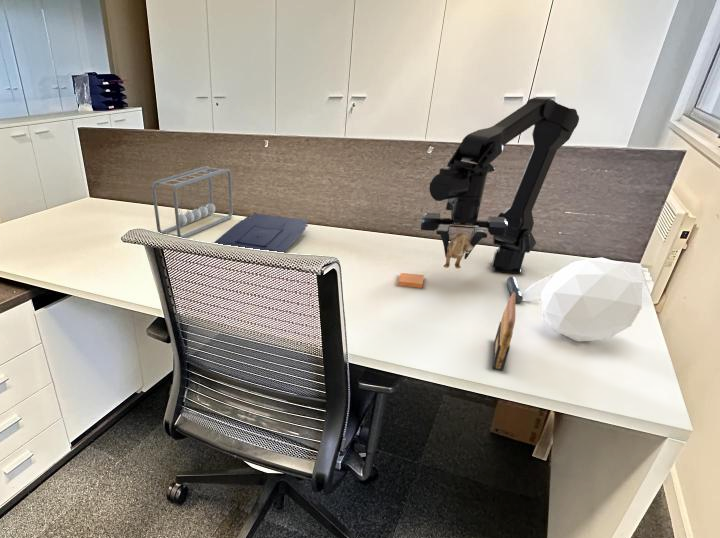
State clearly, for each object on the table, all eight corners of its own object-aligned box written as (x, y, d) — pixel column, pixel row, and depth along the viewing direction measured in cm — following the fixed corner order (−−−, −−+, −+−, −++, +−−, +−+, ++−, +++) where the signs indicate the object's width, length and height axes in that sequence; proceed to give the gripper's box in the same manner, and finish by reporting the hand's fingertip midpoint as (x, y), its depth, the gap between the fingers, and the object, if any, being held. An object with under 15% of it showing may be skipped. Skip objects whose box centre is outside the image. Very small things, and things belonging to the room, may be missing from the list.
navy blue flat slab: (314, 228, 164) (314, 218, 161) (275, 270, 144) (275, 258, 142) (250, 220, 174) (250, 210, 172) (206, 257, 155) (205, 247, 152)
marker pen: (508, 284, 126) (517, 280, 125) (515, 305, 116) (524, 300, 115) (504, 278, 126) (512, 273, 125) (510, 298, 116) (519, 294, 115)
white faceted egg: (630, 261, 85) (615, 217, 106) (497, 309, 100) (506, 262, 120) (665, 338, 88) (644, 281, 109) (531, 374, 103) (534, 317, 124)
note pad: (423, 279, 130) (424, 274, 129) (422, 288, 125) (422, 283, 124) (399, 276, 132) (400, 272, 131) (397, 285, 127) (398, 281, 126)
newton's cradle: (212, 213, 188) (208, 164, 178) (233, 217, 182) (231, 167, 173) (157, 235, 168) (150, 182, 158) (179, 240, 162) (173, 185, 153)
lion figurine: (466, 275, 116) (476, 239, 111) (443, 273, 117) (451, 236, 112) (463, 253, 128) (471, 219, 123) (441, 251, 129) (449, 217, 124)
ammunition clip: (493, 342, 102) (509, 290, 95) (503, 344, 101) (519, 291, 95) (491, 368, 94) (508, 313, 87) (502, 371, 93) (519, 315, 87)
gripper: (510, 187, 116) (494, 249, 125) (428, 183, 122) (418, 243, 130) (515, 199, 107) (497, 266, 116) (426, 195, 113) (415, 258, 122)
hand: (455, 257), depth 121 cm, fingers closed on lion figurine, 4 cm apart
